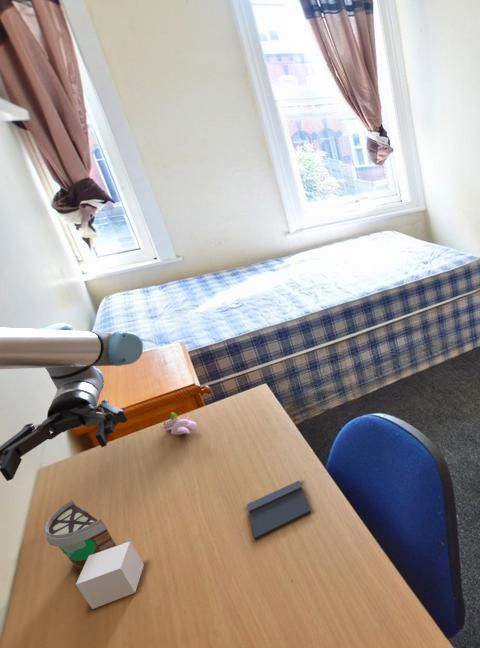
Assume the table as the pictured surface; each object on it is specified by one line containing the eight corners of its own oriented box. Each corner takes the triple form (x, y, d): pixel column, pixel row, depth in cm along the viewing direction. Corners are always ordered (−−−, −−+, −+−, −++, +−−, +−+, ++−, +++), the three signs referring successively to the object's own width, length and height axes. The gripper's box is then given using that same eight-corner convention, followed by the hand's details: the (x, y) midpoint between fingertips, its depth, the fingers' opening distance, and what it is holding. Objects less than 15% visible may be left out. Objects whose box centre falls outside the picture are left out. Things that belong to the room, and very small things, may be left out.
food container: (55, 563, 86) (28, 523, 82) (94, 537, 91) (70, 498, 87) (86, 588, 81) (59, 547, 77) (126, 559, 86) (102, 519, 82)
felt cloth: (255, 540, 87) (253, 535, 87) (248, 507, 95) (247, 503, 94) (310, 512, 92) (309, 508, 92) (300, 483, 100) (298, 479, 99)
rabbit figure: (160, 435, 123) (182, 444, 114) (149, 415, 122) (171, 424, 113) (185, 421, 128) (208, 430, 119) (175, 403, 126) (198, 410, 117)
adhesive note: (135, 592, 79) (120, 568, 77) (92, 609, 77) (75, 584, 75) (144, 564, 84) (130, 540, 82) (104, 579, 82) (88, 555, 80)
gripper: (148, 397, 111) (144, 443, 94) (7, 444, 99) (-27, 505, 82) (135, 370, 108) (128, 413, 91) (-13, 415, 96) (-51, 473, 79)
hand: (55, 457), depth 87 cm, fingers open, 13 cm apart
